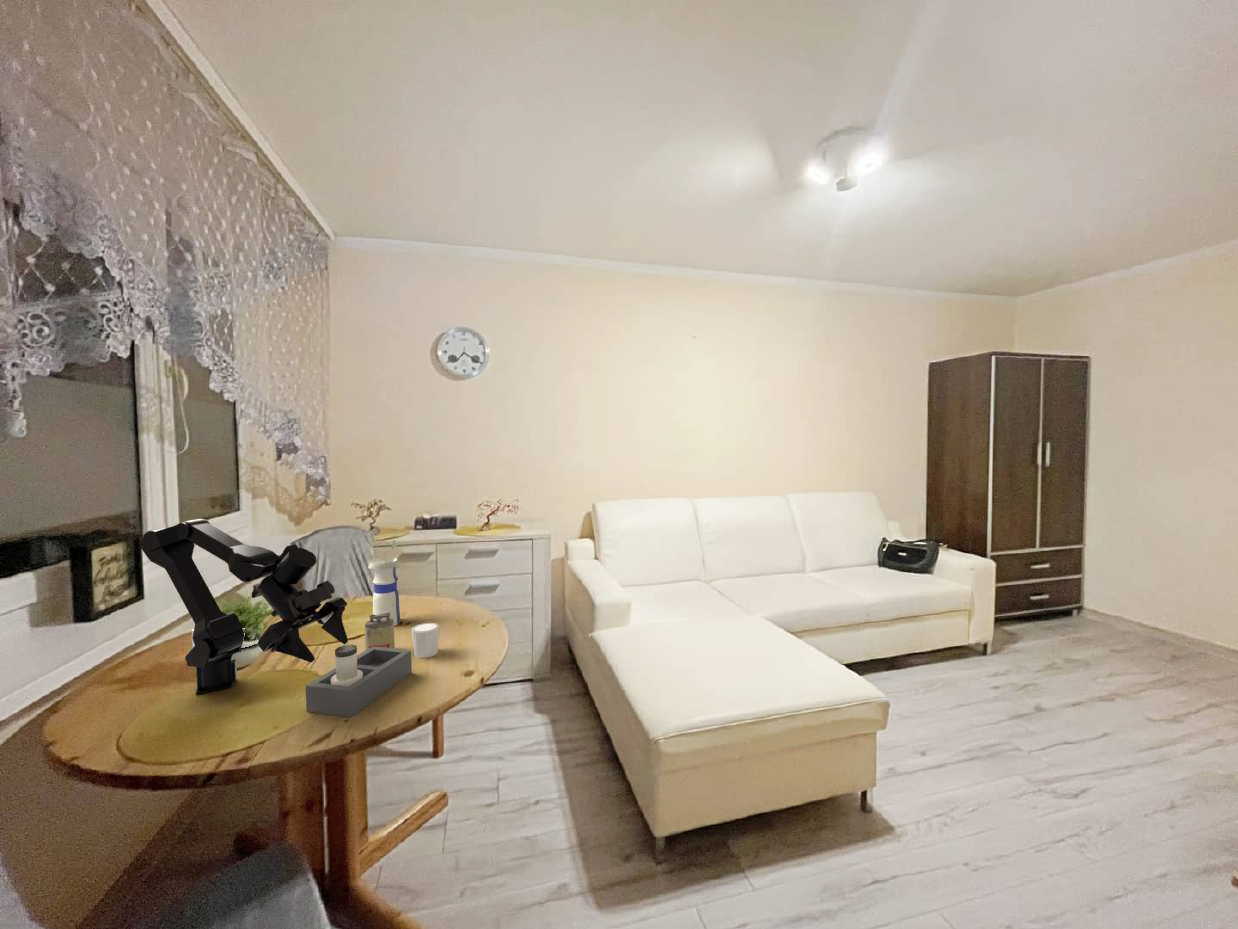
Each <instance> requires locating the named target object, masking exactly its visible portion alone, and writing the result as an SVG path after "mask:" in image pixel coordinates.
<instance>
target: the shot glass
mask: <svg viewBox="0 0 1238 929" xmlns="http://www.w3.org/2000/svg"><path fill="white" fill-rule="evenodd" d="M439 636H440V624H439V623H436V622H423V623H419V624H416V625H415V626H412V627H411V638H412V645H413V653H414V657H415V658H417V657H418V659H426V658H427V657H428V658H430V657H431V658H432V657H433V656H435V655H437V654H438V651H439V638H440V637H439Z"/></svg>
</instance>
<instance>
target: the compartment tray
mask: <svg viewBox="0 0 1238 929" xmlns="http://www.w3.org/2000/svg"><path fill="white" fill-rule="evenodd" d="M412 666H413V665H412V650H411V649H401V648H395V649H393V648H383V647H371V648H369V649H368V650H366V651H362V652H361V653H359V654H357V670H361V671H362V672H363V678H361V679H360V680H358V681H357V682H355V683H354V684H352V685H351V686H349V687H348V686H340V685H332V684H331V678H332V677H333V676H334V675H335V674H336V667H334V668H332V669H331V670H329V671H328V672H326V673H324V674H323V675H321V676H320V677H318V678H316V679H314V680H312V681H311V682H308V683H307V684H306V685H305V703H306V705H305V706H306V712H307V711H312V712H311V713H314V712H315V713H314V714H322V715H323V714H324V715H328V716H330V715H331V716H336V717H342V718H343V717H344V718H352V717H353V716H355V715H357V714H358V713H359V712H360V711H362V710H363V709H364V708H366V707H367V706H368V705H370V704H371V703H372V702H374V701H375V700H377V699H378V698H379V697H381V696H382V695H384V694H385V693H386V692H387V691H389V690H390V689H392V688H394V686H396V685H398V683H400V682H401V681H403V680H404V679H406V678H407V677H408V676H410V675H411V674H412V670H413V668H412Z"/></svg>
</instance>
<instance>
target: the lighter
mask: <svg viewBox="0 0 1238 929" xmlns="http://www.w3.org/2000/svg"><path fill="white" fill-rule="evenodd" d="M382 618H387V619H382ZM373 619H376V620H373ZM364 646H365V647H364V649H365V651H366V650H368V649H369V648H371V647H383V648H393V649H396V647H395V626H394V621H393V619H391V618H390V612H387V613H385V614H379V615H373V614H370V615H369V620H367V621H366V622H364Z"/></svg>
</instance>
